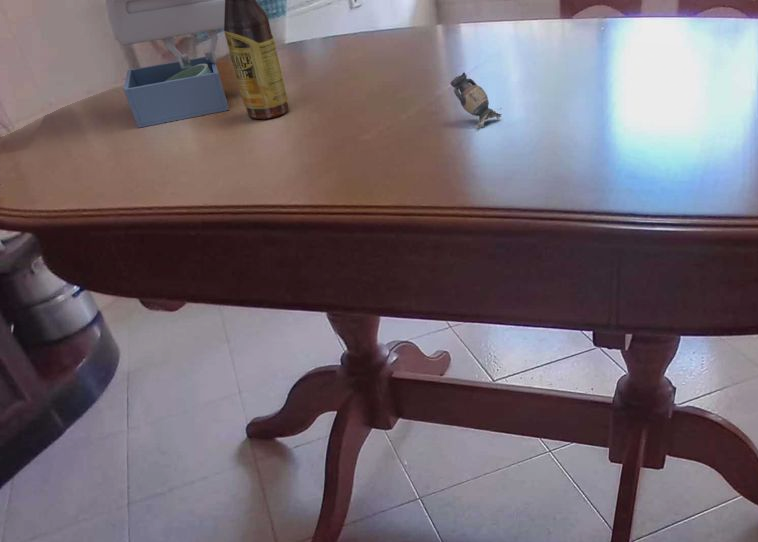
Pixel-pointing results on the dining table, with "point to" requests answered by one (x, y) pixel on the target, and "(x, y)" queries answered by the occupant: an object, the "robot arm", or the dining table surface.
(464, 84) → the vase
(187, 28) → the robot arm
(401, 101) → the dining table surface
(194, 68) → the mint green bowl
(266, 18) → the sauce bottle
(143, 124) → the tub
